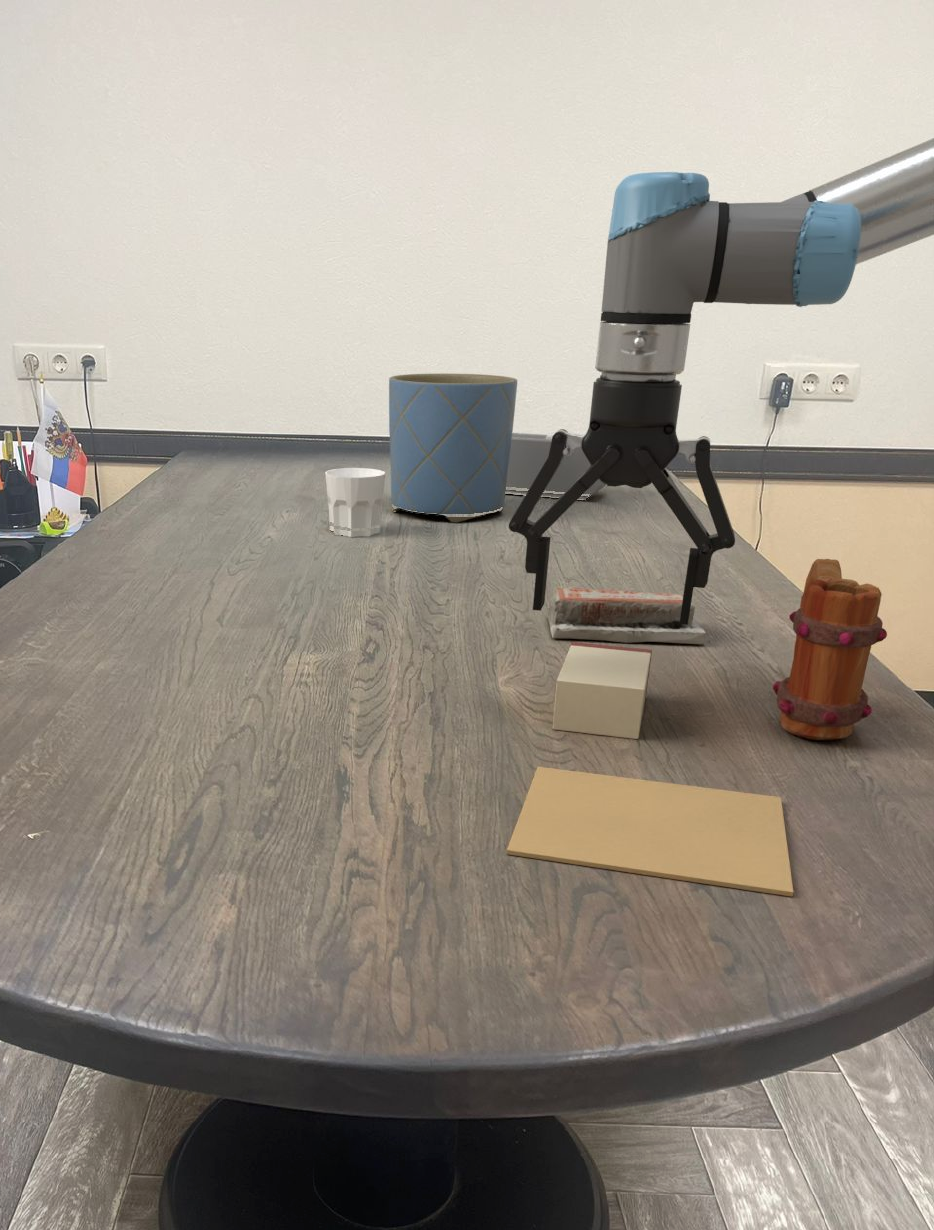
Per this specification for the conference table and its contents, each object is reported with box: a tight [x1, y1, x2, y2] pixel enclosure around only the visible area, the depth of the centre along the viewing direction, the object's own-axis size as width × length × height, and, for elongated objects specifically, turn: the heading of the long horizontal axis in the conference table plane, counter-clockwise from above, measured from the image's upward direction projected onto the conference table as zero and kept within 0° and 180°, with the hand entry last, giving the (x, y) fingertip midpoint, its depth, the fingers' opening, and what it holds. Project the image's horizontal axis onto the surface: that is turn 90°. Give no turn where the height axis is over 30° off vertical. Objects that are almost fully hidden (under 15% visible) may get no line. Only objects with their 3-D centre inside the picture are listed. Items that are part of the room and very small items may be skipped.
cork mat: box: [506, 766, 794, 898], centre depth 84 cm, size 20×16×1 cm
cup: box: [324, 467, 386, 538], centre depth 182 cm, size 10×10×10 cm
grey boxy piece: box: [547, 587, 707, 645], centre depth 131 cm, size 18×5×10 cm
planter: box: [388, 373, 518, 523], centre depth 196 cm, size 23×23×24 cm
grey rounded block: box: [505, 431, 607, 501], centre depth 217 cm, size 27×9×12 cm, turn 66°
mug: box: [772, 558, 888, 741], centre depth 102 cm, size 15×8×15 cm, turn 170°
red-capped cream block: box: [552, 641, 653, 740], centre depth 106 cm, size 8×12×5 cm
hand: (609, 614), depth 103 cm, fingers open, 13 cm apart
